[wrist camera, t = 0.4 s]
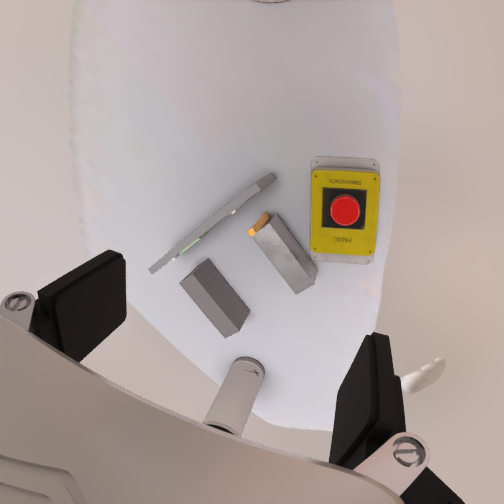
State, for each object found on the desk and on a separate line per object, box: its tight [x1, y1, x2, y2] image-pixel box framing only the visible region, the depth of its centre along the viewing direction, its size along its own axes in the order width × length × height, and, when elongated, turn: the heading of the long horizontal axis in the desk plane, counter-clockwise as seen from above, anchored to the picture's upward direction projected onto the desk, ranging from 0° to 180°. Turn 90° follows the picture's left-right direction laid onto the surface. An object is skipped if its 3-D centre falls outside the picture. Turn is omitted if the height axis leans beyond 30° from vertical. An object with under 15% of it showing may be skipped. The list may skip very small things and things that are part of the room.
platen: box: [247, 213, 317, 294], centre depth 42 cm, size 11×3×8 cm, turn 38°
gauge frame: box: [148, 173, 277, 338], centre depth 44 cm, size 16×20×9 cm
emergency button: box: [310, 156, 380, 264], centre depth 40 cm, size 9×4×15 cm
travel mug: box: [203, 357, 265, 437], centre depth 48 cm, size 6×7×20 cm
